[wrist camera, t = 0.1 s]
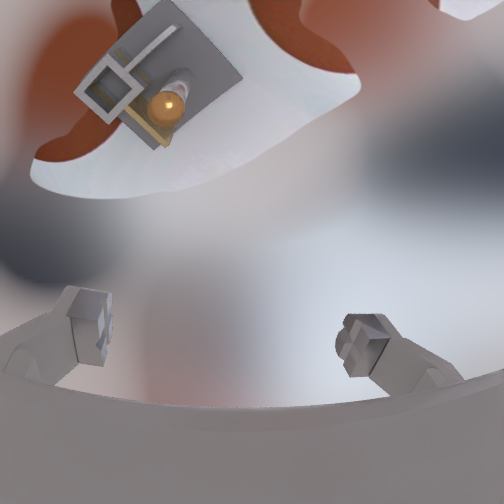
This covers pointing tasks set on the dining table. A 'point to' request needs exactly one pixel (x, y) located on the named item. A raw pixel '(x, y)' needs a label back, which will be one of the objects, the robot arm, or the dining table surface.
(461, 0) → the dining table surface
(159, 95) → the hinge pin
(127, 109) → the hinge
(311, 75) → the dining table surface
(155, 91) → the base board
